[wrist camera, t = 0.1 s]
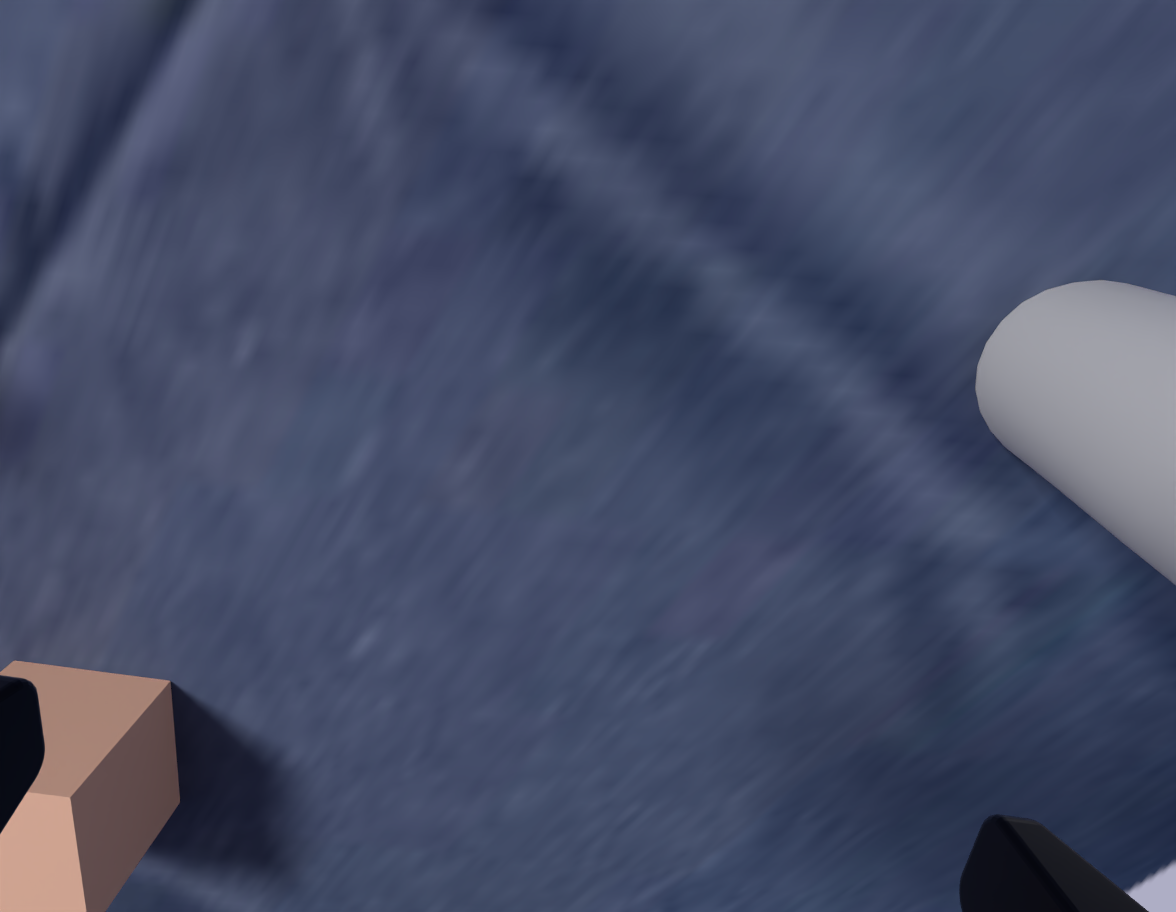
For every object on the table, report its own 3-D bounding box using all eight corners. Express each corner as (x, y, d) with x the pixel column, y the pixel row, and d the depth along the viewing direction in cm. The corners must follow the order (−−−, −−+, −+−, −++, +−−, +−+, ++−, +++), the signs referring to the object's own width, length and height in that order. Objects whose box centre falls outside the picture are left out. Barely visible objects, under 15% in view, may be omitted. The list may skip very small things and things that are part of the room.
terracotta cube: (181, 800, 27) (89, 934, 23) (35, 781, 27) (-87, 911, 23) (171, 679, 25) (69, 797, 21) (16, 659, 25) (-121, 772, 21)
